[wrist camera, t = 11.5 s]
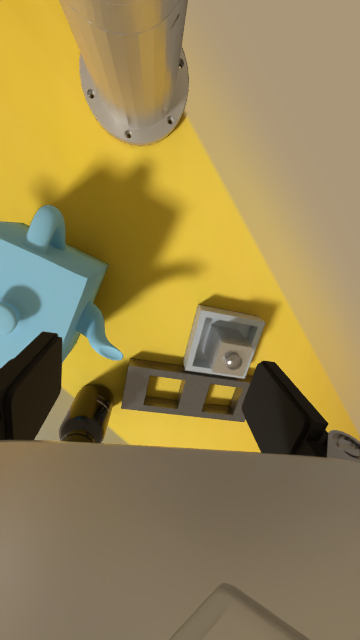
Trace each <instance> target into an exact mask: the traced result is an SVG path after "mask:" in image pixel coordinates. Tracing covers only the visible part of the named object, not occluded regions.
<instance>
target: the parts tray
mask: <svg viewBox="0 0 360 640" xmlns="http://www.w3.org/2000/svg"><path fill="white" fill-rule="evenodd" d="M265 323H266V322H264V321H263V320H262V319H261V318H260V317H258V316H254V315H249V314H244V313H239V312H234V311H229V310H224V309H218V308H213V307H208V306H203V305H198V307H197V311H196V315H195V318H194V322H193V326H192V330H191V334H190V337H189V341H188V345H187V349H186V353H185V356H184V360H183V362H184V367H185V370H188V371H194V372H201V373H208V374H215V375H222V376H229V377H236V378H243V379H245V376H246V374H247V371H248V368H249V366H250V363H251V360H252V357H253V355H254V352H255V349H256V347H257V344H258V341H259V339H260V336H261V333H262V331H263V328H264V325H265ZM211 325H216V326H221V327H227V328H232V329H237V330H239V331H240V333H241V334H242V335H243V336H244V337H245V339H246V340H247V341H248V342H249V343H250V344H251V346H252V347H253V348H254V349H253V351H252V354H251V357H250V359H249V362H248V365H247V367H246V370H245V373H244V375H243V377H242V376H235V375H228V374H222V373H215V372H212V370H211V368H210V365H209V363H208V360H207V358H206V356H205V353H204V351H203V349H204V346H205V343H206V339H207V336H208V332H209V329H210V326H211Z"/></svg>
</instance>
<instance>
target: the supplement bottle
mask: <svg viewBox="0 0 360 640" xmlns="http://www.w3.org/2000/svg"><path fill="white" fill-rule="evenodd" d="M113 403H114V399H113V395H112V393H111V392H110V391H109V390H108V389H107V388H105V387H104V386H101V385H88V386H85V387H83V388H82V389H81V390H80V391H79V392H78V393H77V395H76V397H75V399H74V401H73V403H72V405H71V407H70V409H69V410H68V412H67V415H66V416H65V418H64V420H63V422H62V424H61V426H60V429H59V438H60V441H67V442H85V443H102V441H103V439H104V436H105V433H106V429H107V426H108V422H109V418H110V415H111V411H112V407H113Z"/></svg>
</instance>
